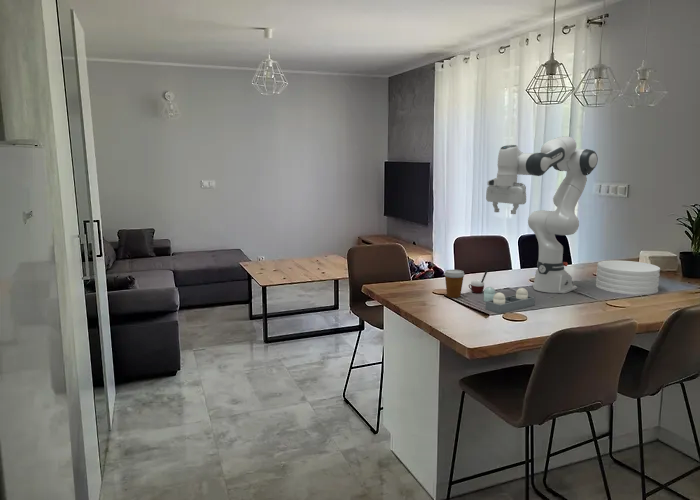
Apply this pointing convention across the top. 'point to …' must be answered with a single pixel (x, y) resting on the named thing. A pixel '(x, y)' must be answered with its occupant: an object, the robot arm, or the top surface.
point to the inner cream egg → (522, 293)
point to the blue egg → (489, 294)
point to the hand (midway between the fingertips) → (504, 213)
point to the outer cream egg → (499, 298)
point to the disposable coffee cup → (454, 282)
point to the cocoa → (478, 284)
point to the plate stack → (627, 277)
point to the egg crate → (510, 304)
